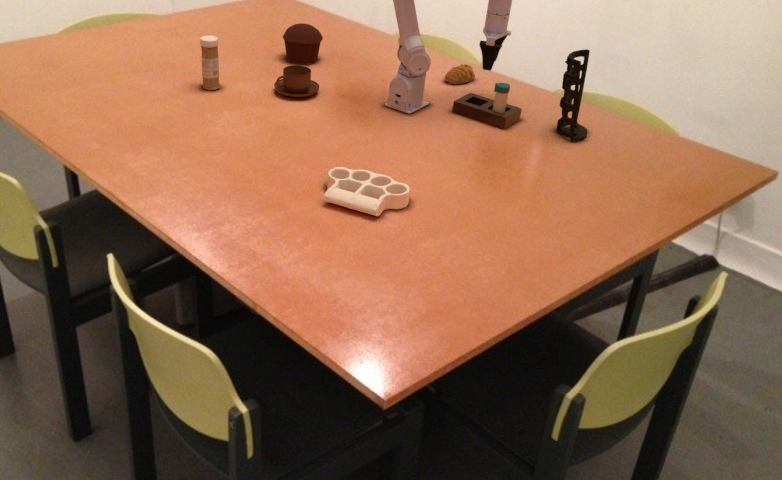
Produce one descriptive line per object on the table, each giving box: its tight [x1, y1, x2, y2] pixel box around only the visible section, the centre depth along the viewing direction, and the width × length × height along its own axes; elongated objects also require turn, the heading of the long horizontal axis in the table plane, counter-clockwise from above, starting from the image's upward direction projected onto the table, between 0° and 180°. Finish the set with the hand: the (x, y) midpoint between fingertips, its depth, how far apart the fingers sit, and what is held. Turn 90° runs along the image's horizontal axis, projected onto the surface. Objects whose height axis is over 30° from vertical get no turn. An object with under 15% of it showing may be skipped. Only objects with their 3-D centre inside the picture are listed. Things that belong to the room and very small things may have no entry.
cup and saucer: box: [273, 64, 320, 98], centre depth 204 cm, size 12×12×6 cm
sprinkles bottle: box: [199, 34, 220, 91], centre depth 202 cm, size 5×5×13 cm
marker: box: [492, 82, 511, 114], centre depth 196 cm, size 3×4×9 cm
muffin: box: [282, 22, 324, 65], centre depth 225 cm, size 12×11×10 cm
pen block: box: [451, 92, 523, 130], centre depth 199 cm, size 9×15×3 cm, turn 52°
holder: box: [556, 48, 591, 143], centre depth 188 cm, size 11×8×20 cm
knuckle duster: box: [323, 166, 411, 217], centre depth 159 cm, size 3×18×15 cm
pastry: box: [444, 63, 476, 85], centre depth 219 cm, size 9×7×4 cm
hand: (489, 65), depth 201 cm, fingers open, 7 cm apart
